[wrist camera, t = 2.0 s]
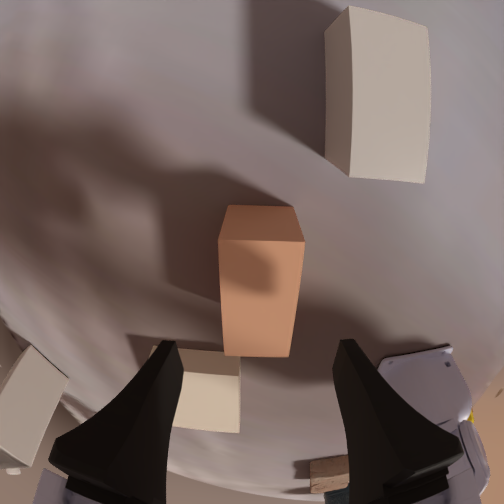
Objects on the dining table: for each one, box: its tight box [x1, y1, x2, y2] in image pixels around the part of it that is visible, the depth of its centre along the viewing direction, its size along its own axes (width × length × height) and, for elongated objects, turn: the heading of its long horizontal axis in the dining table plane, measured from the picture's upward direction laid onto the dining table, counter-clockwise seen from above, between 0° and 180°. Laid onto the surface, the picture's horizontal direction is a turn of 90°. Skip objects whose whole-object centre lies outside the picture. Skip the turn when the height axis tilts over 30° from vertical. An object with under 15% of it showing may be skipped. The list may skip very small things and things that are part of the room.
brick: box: [310, 455, 349, 493], centre depth 41 cm, size 17×8×5 cm, turn 10°
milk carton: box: [0, 345, 69, 475], centre depth 20 cm, size 7×7×19 cm
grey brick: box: [324, 6, 431, 184], centre depth 11 cm, size 4×8×5 cm, turn 1°
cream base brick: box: [148, 345, 240, 433], centre depth 25 cm, size 8×12×3 cm, turn 178°
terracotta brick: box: [218, 205, 305, 357], centre depth 17 cm, size 4×8×5 cm, turn 179°
